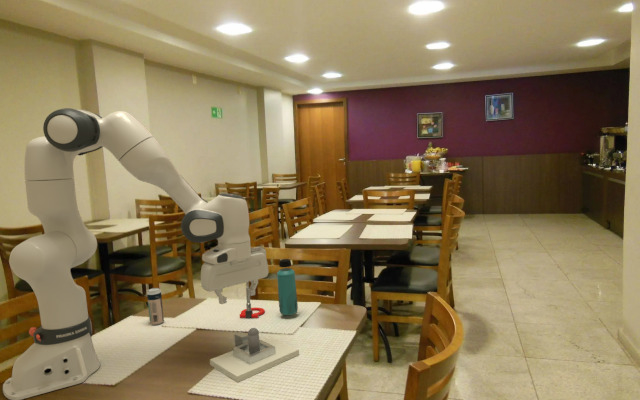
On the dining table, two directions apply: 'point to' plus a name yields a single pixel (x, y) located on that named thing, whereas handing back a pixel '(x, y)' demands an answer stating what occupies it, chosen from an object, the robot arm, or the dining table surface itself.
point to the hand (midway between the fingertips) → (237, 299)
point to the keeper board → (243, 370)
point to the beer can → (155, 306)
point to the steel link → (243, 348)
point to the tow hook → (249, 311)
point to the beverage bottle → (287, 288)
